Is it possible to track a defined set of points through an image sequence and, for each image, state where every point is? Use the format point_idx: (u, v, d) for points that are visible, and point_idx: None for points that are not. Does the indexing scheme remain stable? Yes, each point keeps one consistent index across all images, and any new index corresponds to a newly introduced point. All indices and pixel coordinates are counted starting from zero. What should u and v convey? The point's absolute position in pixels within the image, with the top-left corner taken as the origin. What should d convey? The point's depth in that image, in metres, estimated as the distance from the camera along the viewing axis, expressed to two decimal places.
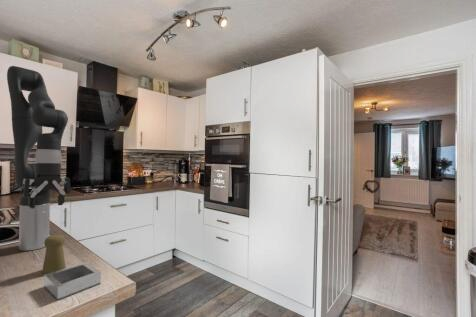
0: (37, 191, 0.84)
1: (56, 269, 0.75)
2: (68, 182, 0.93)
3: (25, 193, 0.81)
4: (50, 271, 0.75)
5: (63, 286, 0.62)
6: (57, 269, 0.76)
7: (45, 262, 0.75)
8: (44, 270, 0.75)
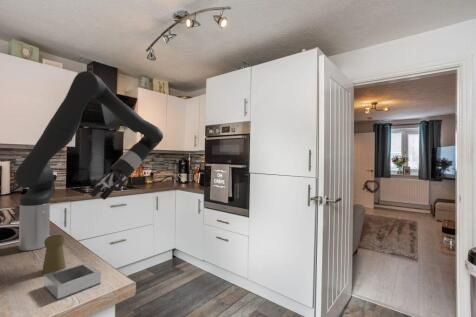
0: None
1: (56, 269, 0.75)
2: None
3: None
4: (50, 271, 0.75)
5: (63, 286, 0.62)
6: (57, 269, 0.76)
7: (45, 262, 0.75)
8: (44, 270, 0.75)
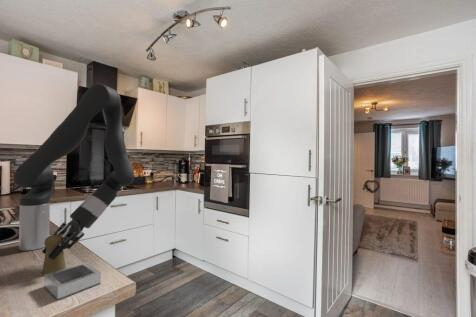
0: None
1: (56, 269, 0.75)
2: None
3: None
4: (50, 271, 0.75)
5: (63, 286, 0.62)
6: (57, 269, 0.76)
7: (45, 262, 0.75)
8: (44, 270, 0.75)
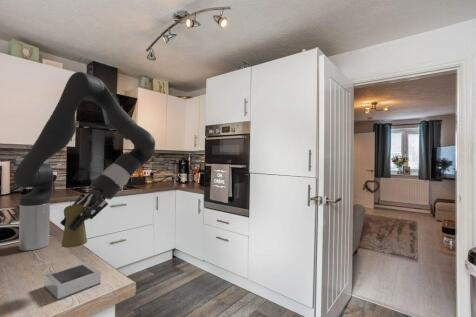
0: (92, 213, 0.70)
1: (77, 242, 0.67)
2: None
3: None
4: (71, 244, 0.66)
5: (63, 286, 0.62)
6: (78, 242, 0.67)
7: (65, 234, 0.66)
8: (64, 243, 0.66)
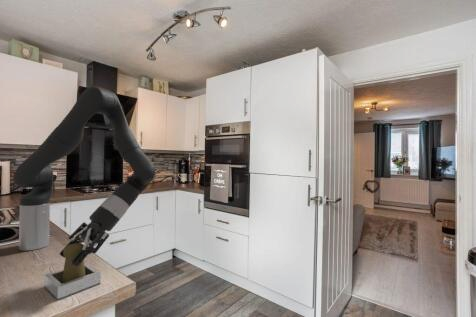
0: (93, 246, 0.69)
1: None
2: None
3: None
4: None
5: (63, 286, 0.62)
6: None
7: (64, 275, 0.67)
8: None
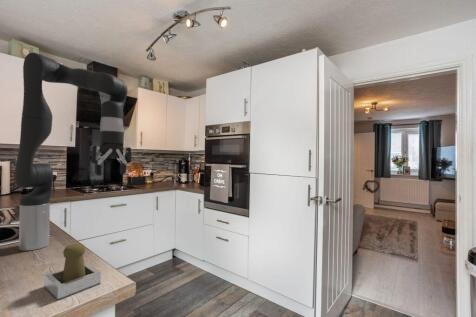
0: (103, 158, 0.85)
1: None
2: (129, 152, 0.93)
3: (93, 160, 0.82)
4: None
5: (63, 286, 0.62)
6: None
7: (65, 275, 0.67)
8: None
